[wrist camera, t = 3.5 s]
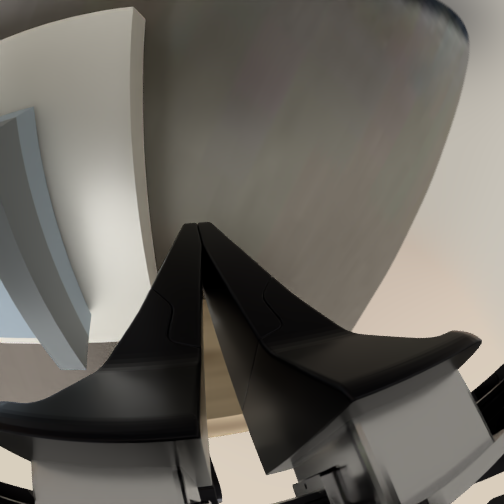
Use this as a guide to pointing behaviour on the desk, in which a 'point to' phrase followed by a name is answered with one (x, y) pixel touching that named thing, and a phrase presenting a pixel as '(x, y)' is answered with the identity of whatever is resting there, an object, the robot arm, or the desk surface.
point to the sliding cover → (36, 253)
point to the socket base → (90, 153)
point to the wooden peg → (219, 386)
